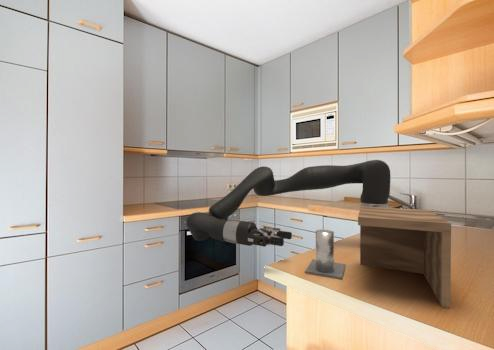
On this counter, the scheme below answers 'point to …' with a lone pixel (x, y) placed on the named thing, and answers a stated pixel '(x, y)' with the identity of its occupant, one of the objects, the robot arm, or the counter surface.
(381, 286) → the counter surface
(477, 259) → the counter surface
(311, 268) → the rubber mat
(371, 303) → the counter surface
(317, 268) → the steel tin
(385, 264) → the walnut desk
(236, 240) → the robot arm
